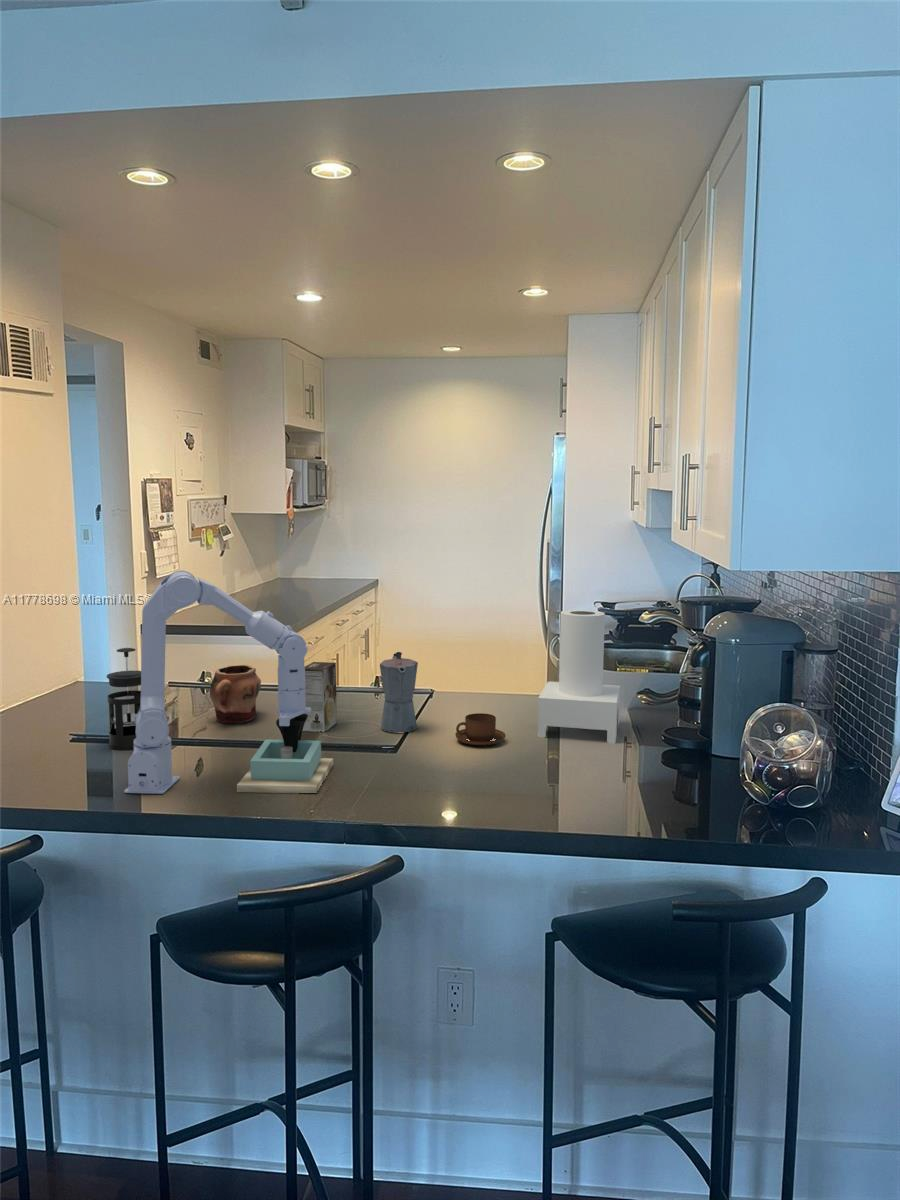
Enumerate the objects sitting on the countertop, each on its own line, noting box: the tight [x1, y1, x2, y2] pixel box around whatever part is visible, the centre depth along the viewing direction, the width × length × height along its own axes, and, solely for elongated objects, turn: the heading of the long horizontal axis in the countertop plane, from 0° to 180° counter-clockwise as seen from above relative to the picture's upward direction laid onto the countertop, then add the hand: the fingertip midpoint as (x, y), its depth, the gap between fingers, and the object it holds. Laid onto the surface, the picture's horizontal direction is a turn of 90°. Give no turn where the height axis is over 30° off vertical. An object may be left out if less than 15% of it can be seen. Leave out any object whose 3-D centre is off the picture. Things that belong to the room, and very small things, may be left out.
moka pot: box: [379, 651, 419, 734], centre depth 216 cm, size 10×15×20 cm, turn 15°
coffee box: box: [302, 661, 338, 733], centre depth 217 cm, size 9×6×16 cm
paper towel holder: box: [537, 609, 621, 744], centre depth 215 cm, size 19×19×30 cm
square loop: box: [249, 739, 322, 781], centre depth 179 cm, size 12×12×4 cm
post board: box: [236, 746, 334, 794], centre depth 179 cm, size 18×16×6 cm
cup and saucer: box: [455, 712, 506, 747], centre depth 206 cm, size 12×12×6 cm
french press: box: [106, 647, 141, 751], centre depth 201 cm, size 12×9×23 cm
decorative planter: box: [209, 664, 262, 724], centre depth 222 cm, size 20×12×14 cm, turn 173°
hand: (292, 750), depth 184 cm, fingers closed
